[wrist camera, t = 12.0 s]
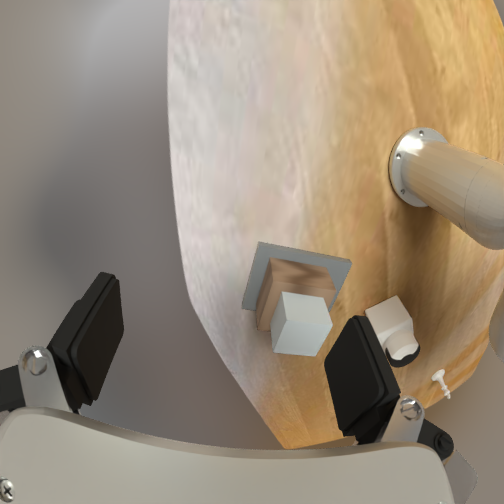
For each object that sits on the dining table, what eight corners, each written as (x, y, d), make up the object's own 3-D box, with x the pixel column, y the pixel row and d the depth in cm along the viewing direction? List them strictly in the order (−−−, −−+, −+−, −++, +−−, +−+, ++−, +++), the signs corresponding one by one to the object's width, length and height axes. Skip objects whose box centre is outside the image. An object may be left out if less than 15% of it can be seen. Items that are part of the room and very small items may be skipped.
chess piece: (429, 381, 65) (440, 405, 56) (434, 372, 62) (446, 397, 53) (440, 376, 64) (452, 399, 56) (446, 367, 62) (458, 391, 53)
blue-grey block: (323, 297, 37) (332, 325, 32) (308, 328, 39) (315, 356, 35) (281, 291, 36) (286, 319, 31) (270, 323, 39) (272, 352, 34)
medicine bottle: (400, 317, 49) (424, 359, 39) (370, 331, 51) (389, 377, 40) (397, 293, 46) (424, 337, 36) (363, 309, 48) (386, 357, 37)
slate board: (349, 259, 42) (352, 263, 41) (324, 315, 48) (325, 320, 47) (258, 241, 40) (258, 245, 39) (242, 304, 46) (242, 308, 45)
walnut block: (326, 267, 41) (336, 290, 36) (307, 311, 46) (314, 336, 40) (269, 256, 40) (273, 280, 35) (256, 303, 45) (257, 329, 39)
